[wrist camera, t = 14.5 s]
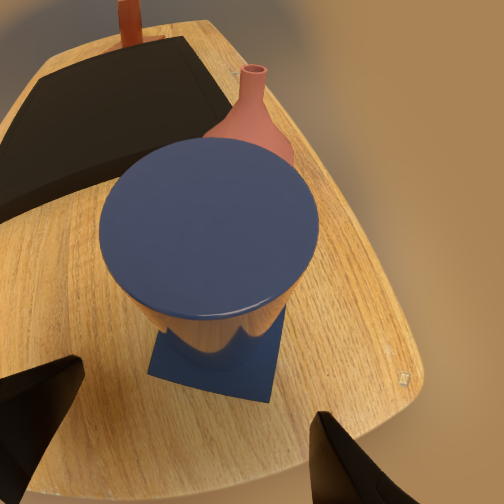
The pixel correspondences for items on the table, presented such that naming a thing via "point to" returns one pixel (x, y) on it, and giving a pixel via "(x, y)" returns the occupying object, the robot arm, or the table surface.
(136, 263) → the blue cylinder
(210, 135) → the terracotta bud vase
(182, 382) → the blue mat
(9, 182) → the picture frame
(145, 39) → the terracotta tile
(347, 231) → the table surface
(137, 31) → the terracotta candle
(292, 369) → the table surface
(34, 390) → the robot arm
